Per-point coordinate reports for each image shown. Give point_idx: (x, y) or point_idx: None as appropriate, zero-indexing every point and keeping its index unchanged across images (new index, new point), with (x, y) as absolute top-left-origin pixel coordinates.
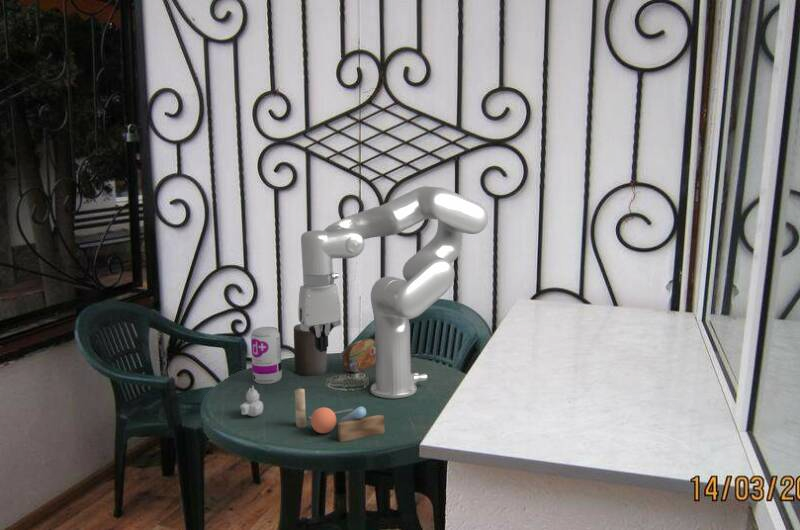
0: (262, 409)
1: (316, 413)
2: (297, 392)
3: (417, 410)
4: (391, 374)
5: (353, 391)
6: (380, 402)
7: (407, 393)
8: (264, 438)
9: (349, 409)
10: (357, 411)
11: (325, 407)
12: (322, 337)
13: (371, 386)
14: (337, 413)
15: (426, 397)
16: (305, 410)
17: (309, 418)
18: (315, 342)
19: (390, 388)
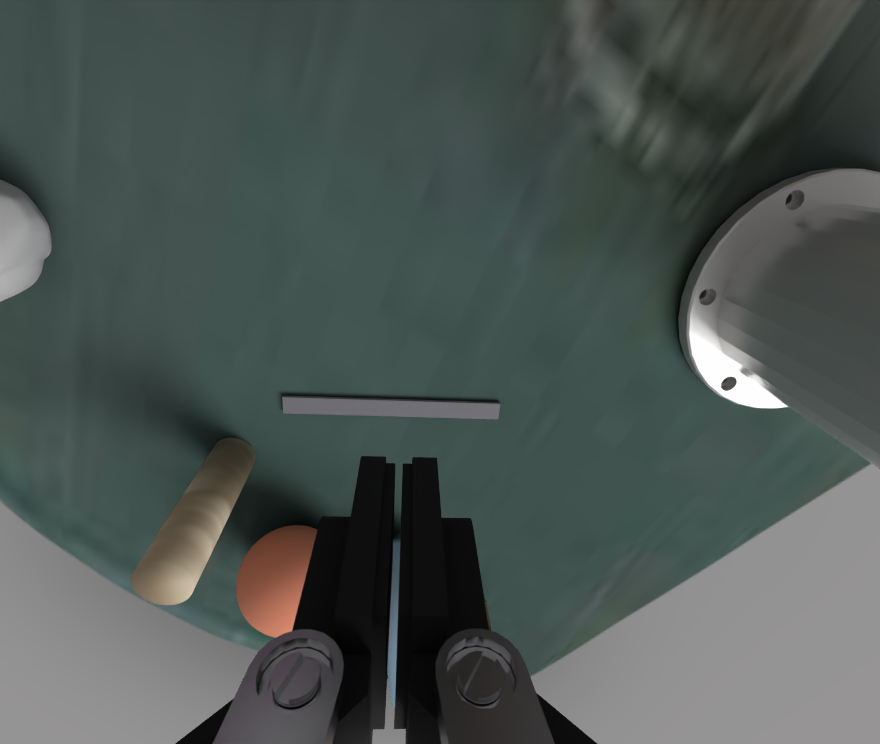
0: (39, 270)
1: (248, 620)
2: (147, 596)
3: (693, 522)
4: (811, 421)
5: (640, 178)
6: (644, 391)
7: (784, 406)
8: (64, 495)
9: (483, 408)
10: (392, 703)
11: (295, 614)
12: (378, 728)
13: (735, 230)
14: (419, 415)
15: (823, 434)
16: (232, 508)
17: (286, 411)
18: (312, 569)
19: (749, 379)
